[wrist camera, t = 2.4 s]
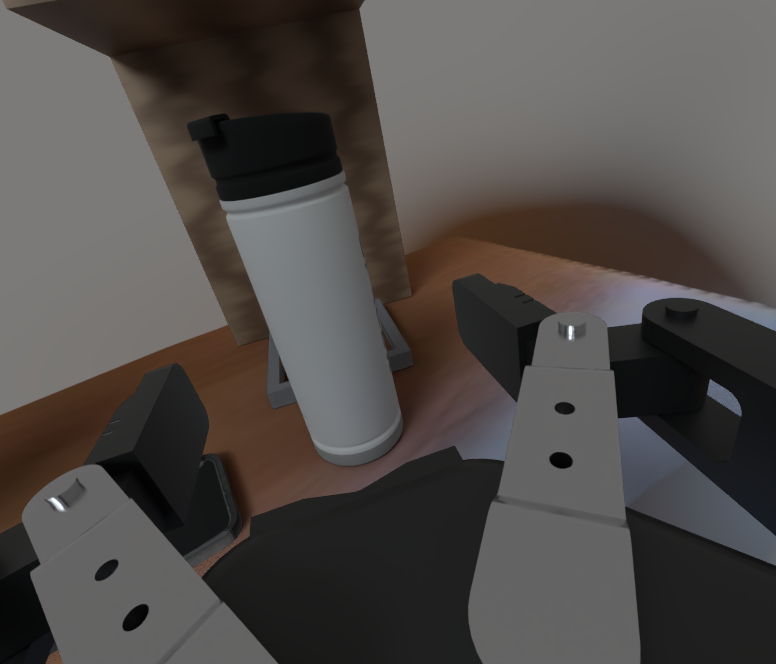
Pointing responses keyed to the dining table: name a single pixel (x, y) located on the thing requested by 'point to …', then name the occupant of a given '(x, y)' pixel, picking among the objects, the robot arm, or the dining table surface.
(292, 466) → the dining table surface
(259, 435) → the dining table surface
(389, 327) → the seat frame
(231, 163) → the travel mug
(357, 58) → the overhang shelf
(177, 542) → the phone
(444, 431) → the dining table surface
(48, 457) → the dining table surface
